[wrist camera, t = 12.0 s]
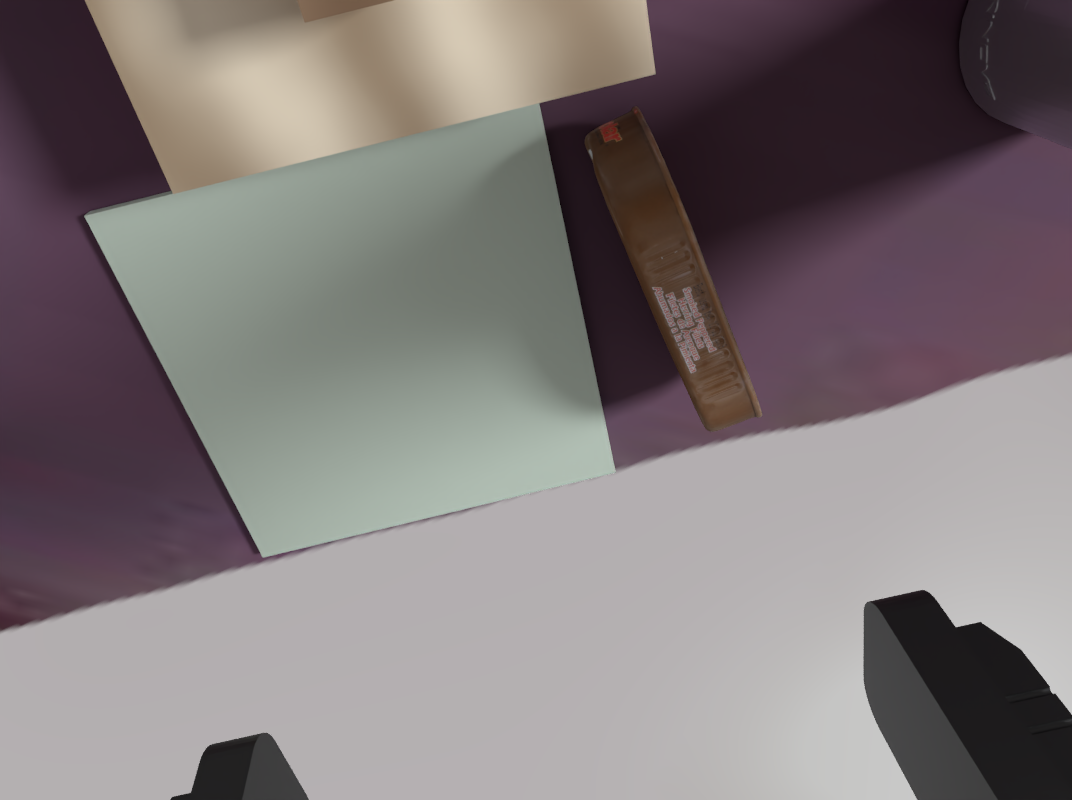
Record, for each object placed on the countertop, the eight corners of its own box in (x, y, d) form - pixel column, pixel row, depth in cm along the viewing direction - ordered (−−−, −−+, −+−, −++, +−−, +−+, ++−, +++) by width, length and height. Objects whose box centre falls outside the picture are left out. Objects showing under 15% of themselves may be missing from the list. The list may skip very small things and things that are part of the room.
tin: (732, 356, 43) (791, 446, 36) (676, 382, 44) (724, 476, 37) (625, 84, 36) (674, 129, 29) (559, 117, 36) (591, 170, 29)
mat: (537, 99, 36) (538, 102, 35) (613, 466, 46) (615, 472, 46) (89, 211, 36) (83, 215, 36) (264, 550, 46) (262, 557, 46)
